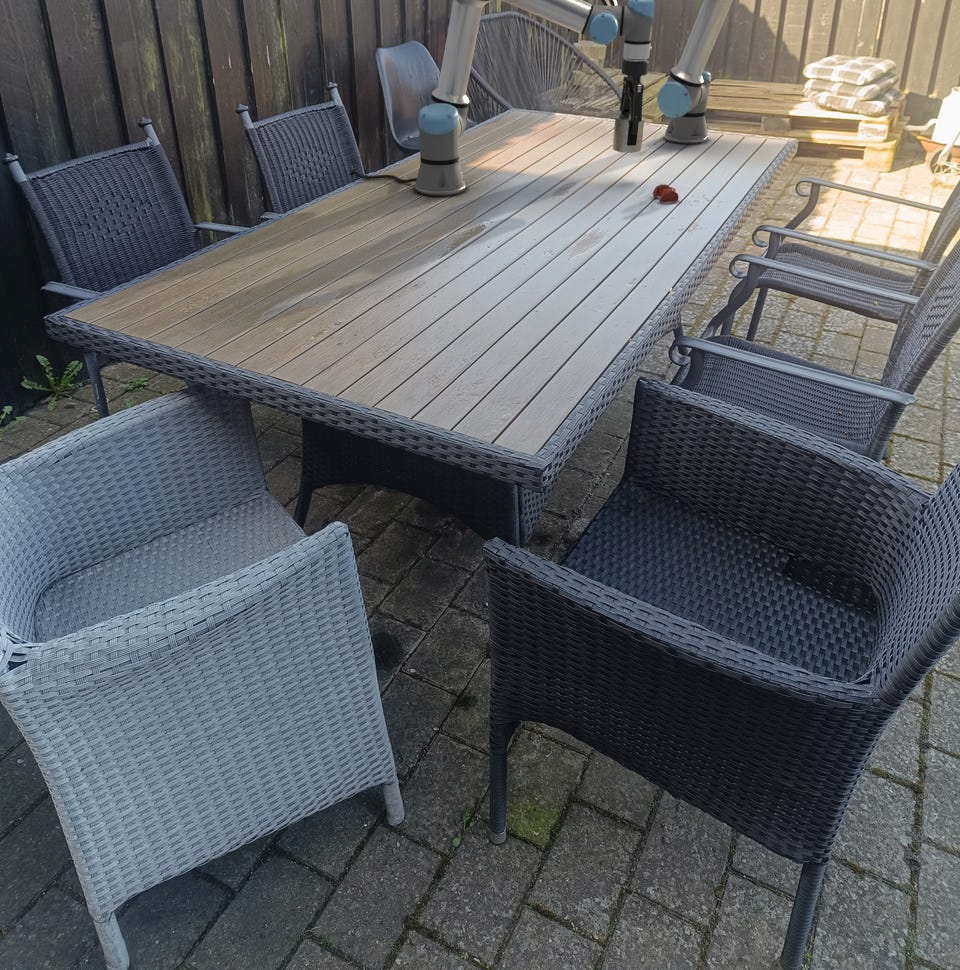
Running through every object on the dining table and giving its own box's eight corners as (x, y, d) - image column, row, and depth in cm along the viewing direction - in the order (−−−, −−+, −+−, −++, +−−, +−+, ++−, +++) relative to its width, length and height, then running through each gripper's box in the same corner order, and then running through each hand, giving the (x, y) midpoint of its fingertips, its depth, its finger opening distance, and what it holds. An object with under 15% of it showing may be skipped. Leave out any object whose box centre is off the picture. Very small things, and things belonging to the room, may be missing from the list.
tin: (631, 154, 253) (634, 122, 248) (607, 149, 258) (609, 117, 252) (646, 148, 259) (650, 116, 253) (622, 144, 263) (625, 112, 258)
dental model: (669, 180, 251) (681, 188, 245) (668, 194, 254) (679, 202, 248) (652, 182, 250) (663, 190, 244) (650, 196, 253) (662, 204, 247)
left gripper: (659, 65, 235) (649, 150, 248) (638, 53, 253) (630, 132, 266) (632, 66, 235) (624, 150, 248) (614, 53, 252) (607, 133, 265)
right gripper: (554, -40, 285) (551, 31, 298) (623, -37, 275) (617, 36, 288) (563, -41, 291) (560, 28, 303) (631, -38, 281) (625, 33, 293)
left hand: (627, 141), depth 257 cm, fingers closed on tin, 9 cm apart
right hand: (588, 32), depth 295 cm, fingers open, 13 cm apart
